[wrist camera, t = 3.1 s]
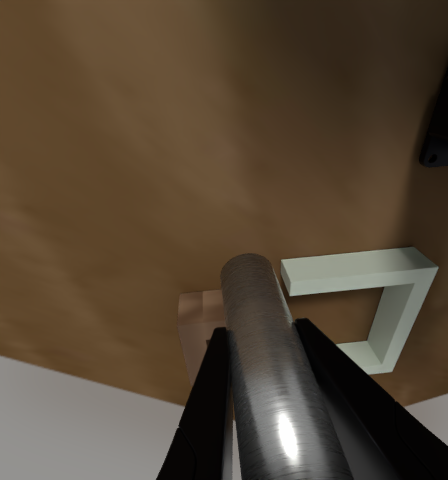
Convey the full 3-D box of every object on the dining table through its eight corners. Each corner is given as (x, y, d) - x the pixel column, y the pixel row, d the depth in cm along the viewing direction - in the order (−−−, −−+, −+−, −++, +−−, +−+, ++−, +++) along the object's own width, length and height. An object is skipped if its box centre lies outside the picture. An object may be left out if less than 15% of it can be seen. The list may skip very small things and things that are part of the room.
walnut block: (273, 284, 20) (283, 314, 18) (270, 344, 24) (279, 376, 21) (179, 293, 20) (176, 325, 17) (191, 352, 24) (190, 386, 21)
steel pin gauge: (276, 248, 11) (433, 598, 4) (274, 294, 13) (386, 618, 5) (215, 254, 11) (250, 625, 4) (220, 299, 13) (252, 638, 5)
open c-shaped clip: (413, 246, 19) (438, 267, 17) (376, 347, 25) (391, 371, 23) (281, 259, 19) (291, 282, 17) (275, 358, 25) (282, 384, 23)
